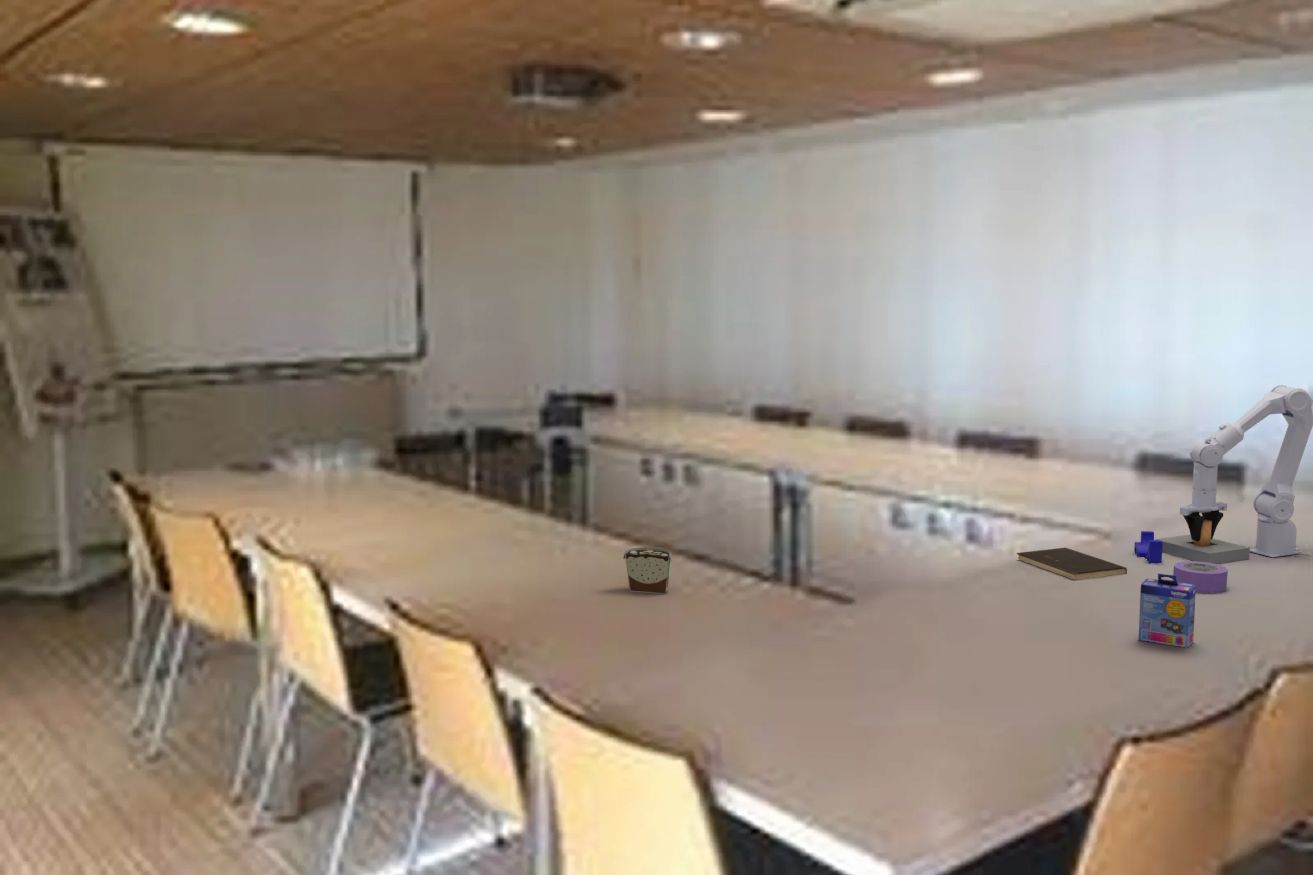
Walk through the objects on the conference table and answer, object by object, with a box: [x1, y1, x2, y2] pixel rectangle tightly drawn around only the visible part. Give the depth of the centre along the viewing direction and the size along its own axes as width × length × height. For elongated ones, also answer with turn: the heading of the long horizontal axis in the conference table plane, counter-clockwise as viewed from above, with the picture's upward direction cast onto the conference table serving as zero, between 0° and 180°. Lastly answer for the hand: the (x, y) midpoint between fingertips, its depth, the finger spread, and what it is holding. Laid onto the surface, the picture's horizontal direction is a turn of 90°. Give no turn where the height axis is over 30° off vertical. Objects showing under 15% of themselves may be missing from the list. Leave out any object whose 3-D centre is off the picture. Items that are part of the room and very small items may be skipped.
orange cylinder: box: [1194, 519, 1212, 547], centre depth 321 cm, size 4×4×7 cm
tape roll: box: [1172, 560, 1229, 594], centre depth 291 cm, size 12×12×5 cm
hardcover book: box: [1016, 547, 1128, 581], centre depth 312 cm, size 16×23×2 cm
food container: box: [623, 546, 674, 595], centre depth 296 cm, size 12×6×10 cm, turn 71°
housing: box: [1154, 534, 1251, 565], centre depth 322 cm, size 14×18×3 cm
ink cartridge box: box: [1138, 573, 1197, 648], centre depth 250 cm, size 10×6×14 cm, turn 55°
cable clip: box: [1133, 530, 1163, 564], centre depth 319 cm, size 12×4×6 cm, turn 169°
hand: (1201, 539), depth 322 cm, fingers closed on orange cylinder, 4 cm apart
